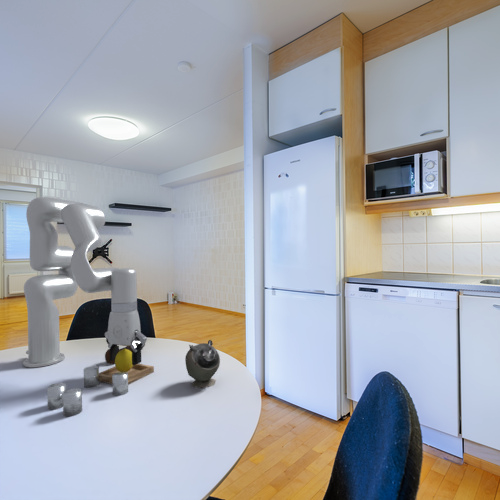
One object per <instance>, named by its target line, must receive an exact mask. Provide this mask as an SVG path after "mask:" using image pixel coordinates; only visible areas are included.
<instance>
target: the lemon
mask: <svg viewBox="0 0 500 500" xmlns="http://www.w3.org/2000/svg"><path fill="white" fill-rule="evenodd" d="M123 348H124V347H123ZM132 366H133V365H132V352H131V351H130V350H127V349H125V348H124V349H123V350H121V351H119V352H118V353H117V355H116V358H115V364H114V367H116V369H117V370H118V371H119V372H127V371H129V370H130V369H131V368H132Z"/></svg>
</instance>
